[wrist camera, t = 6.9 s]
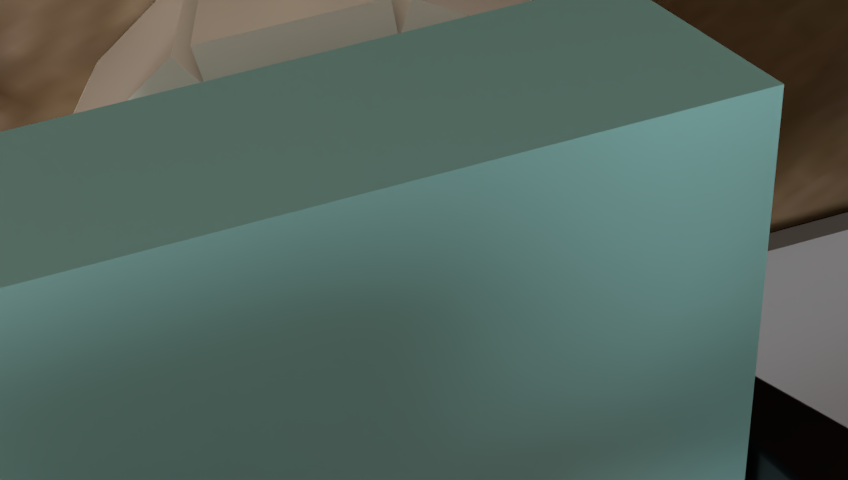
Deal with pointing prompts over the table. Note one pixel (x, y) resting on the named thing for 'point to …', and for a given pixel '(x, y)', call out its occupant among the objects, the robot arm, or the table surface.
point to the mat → (807, 315)
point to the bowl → (249, 38)
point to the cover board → (400, 262)
